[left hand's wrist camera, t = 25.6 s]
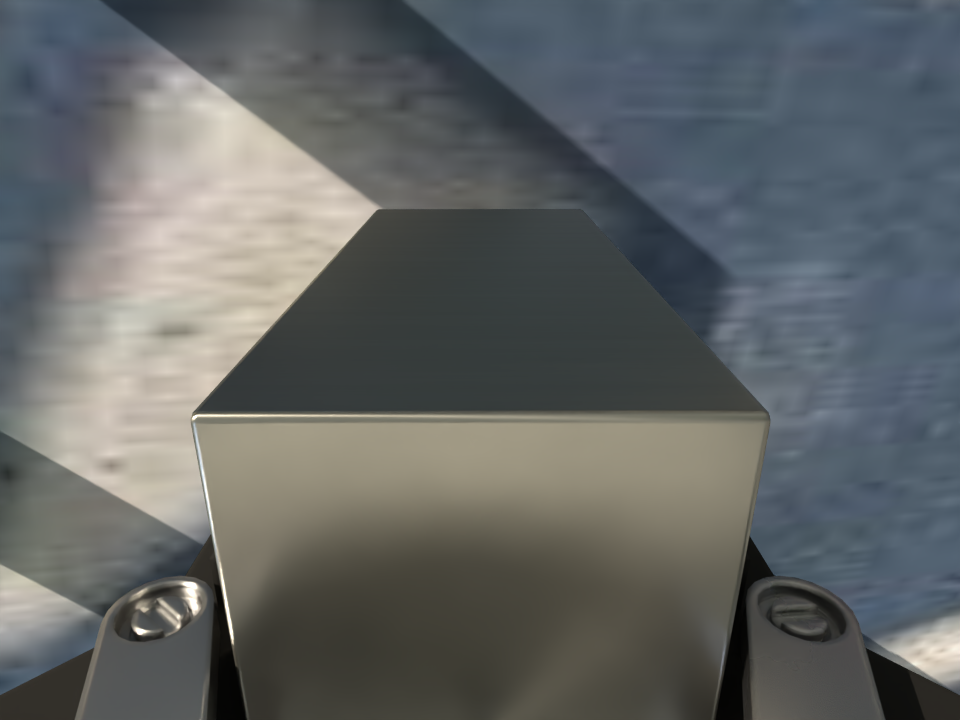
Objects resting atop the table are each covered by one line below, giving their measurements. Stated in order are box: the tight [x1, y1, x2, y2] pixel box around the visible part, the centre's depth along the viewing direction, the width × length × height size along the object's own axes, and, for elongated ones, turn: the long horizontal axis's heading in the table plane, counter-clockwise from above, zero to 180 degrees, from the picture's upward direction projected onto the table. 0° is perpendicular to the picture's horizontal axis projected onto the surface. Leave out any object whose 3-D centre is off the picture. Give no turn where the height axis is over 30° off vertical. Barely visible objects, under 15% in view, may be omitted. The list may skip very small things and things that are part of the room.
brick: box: [191, 209, 770, 720], centre depth 13 cm, size 5×8×12 cm, turn 0°
